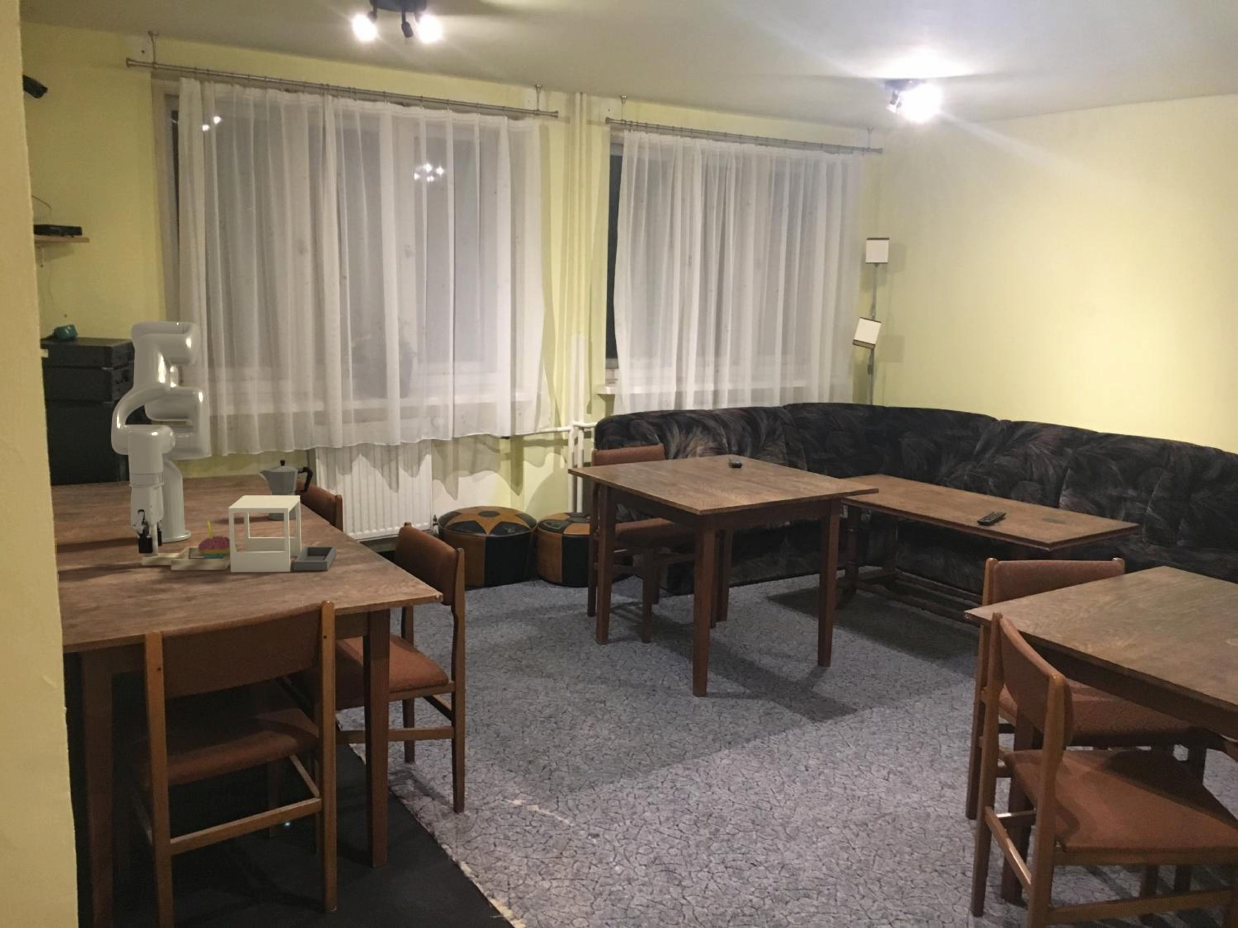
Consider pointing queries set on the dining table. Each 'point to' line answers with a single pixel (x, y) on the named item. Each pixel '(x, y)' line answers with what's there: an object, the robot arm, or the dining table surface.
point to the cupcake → (214, 546)
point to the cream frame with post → (183, 557)
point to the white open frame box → (265, 550)
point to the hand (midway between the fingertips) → (150, 548)
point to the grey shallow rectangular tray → (315, 558)
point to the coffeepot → (286, 484)
